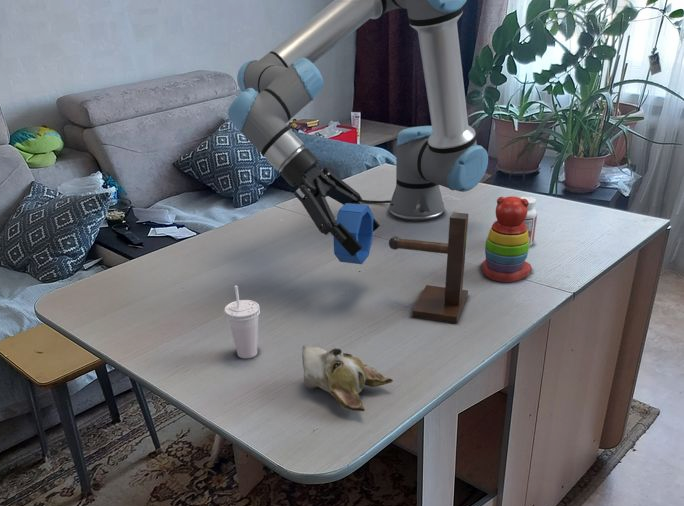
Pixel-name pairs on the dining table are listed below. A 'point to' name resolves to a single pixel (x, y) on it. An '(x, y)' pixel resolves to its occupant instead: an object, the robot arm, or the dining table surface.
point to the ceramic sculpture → (339, 375)
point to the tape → (355, 231)
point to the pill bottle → (530, 218)
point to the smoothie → (243, 325)
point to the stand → (451, 297)
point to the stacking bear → (508, 242)
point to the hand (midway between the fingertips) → (366, 240)
